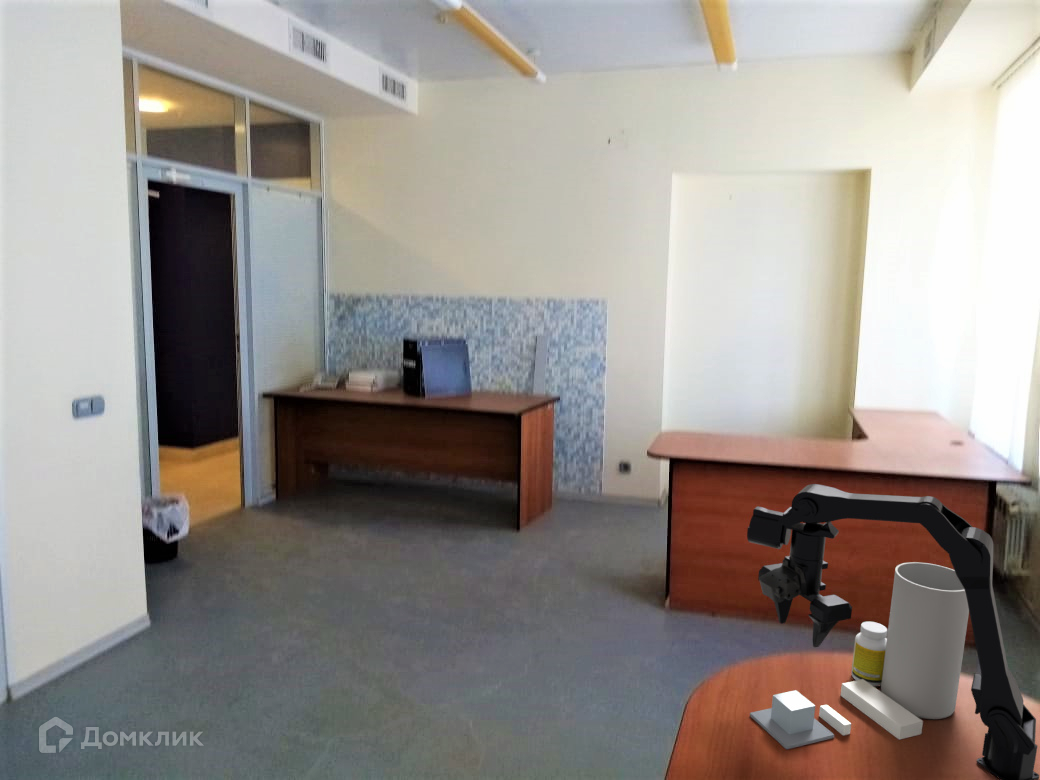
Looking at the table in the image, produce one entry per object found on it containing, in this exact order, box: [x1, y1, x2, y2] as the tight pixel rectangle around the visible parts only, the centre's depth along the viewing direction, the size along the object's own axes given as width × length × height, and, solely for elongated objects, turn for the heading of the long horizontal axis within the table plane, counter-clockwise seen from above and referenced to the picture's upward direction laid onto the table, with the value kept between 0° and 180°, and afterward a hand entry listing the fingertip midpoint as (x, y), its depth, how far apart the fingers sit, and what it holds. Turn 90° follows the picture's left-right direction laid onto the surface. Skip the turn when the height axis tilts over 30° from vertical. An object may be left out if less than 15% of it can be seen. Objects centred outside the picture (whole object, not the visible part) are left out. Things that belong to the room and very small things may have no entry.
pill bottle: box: [851, 621, 888, 687], centre depth 153 cm, size 6×6×11 cm
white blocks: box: [818, 679, 924, 740], centre depth 141 cm, size 14×14×2 cm
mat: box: [749, 707, 835, 750], centre depth 138 cm, size 10×10×1 cm
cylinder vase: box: [880, 561, 970, 720], centre depth 145 cm, size 12×12×25 cm
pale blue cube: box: [771, 689, 816, 735], centre depth 138 cm, size 5×5×4 cm
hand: (798, 634), depth 144 cm, fingers open, 9 cm apart
